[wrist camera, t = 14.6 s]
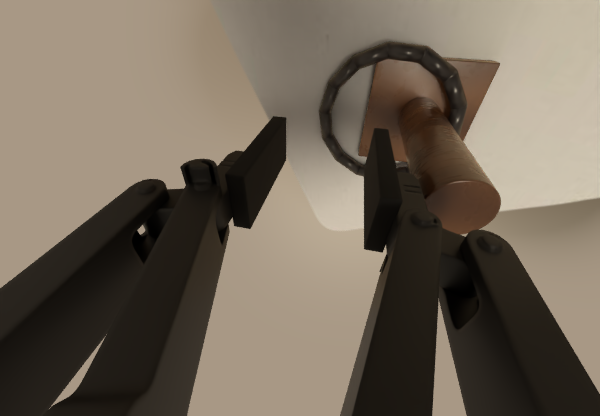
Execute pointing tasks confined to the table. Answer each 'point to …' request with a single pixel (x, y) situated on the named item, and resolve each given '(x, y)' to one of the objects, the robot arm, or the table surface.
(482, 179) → the stand
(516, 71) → the table surface
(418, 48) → the ring
